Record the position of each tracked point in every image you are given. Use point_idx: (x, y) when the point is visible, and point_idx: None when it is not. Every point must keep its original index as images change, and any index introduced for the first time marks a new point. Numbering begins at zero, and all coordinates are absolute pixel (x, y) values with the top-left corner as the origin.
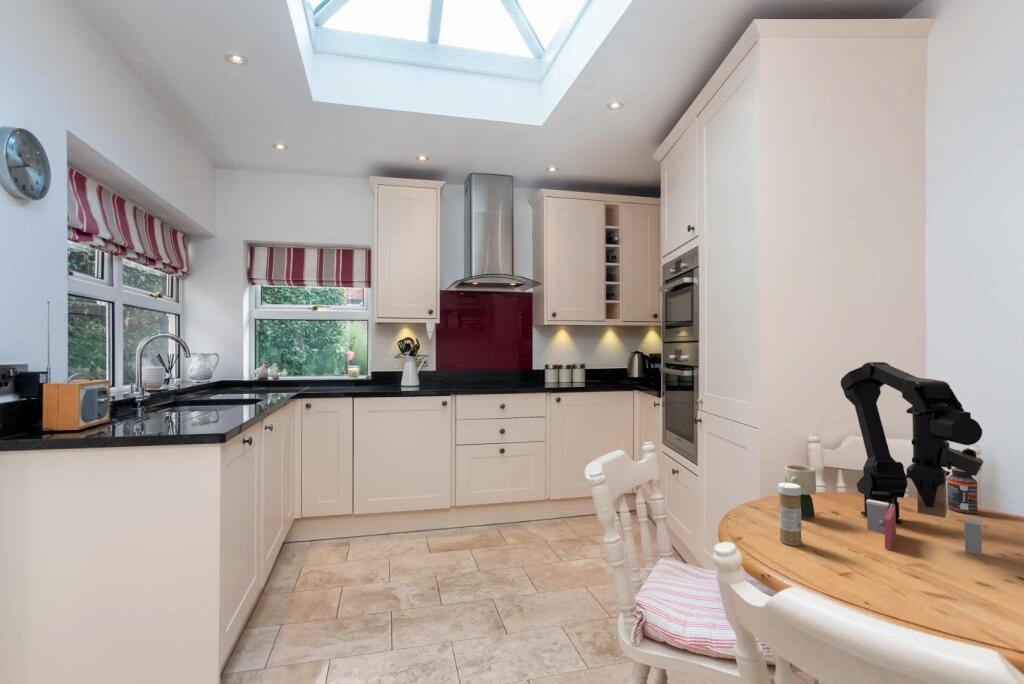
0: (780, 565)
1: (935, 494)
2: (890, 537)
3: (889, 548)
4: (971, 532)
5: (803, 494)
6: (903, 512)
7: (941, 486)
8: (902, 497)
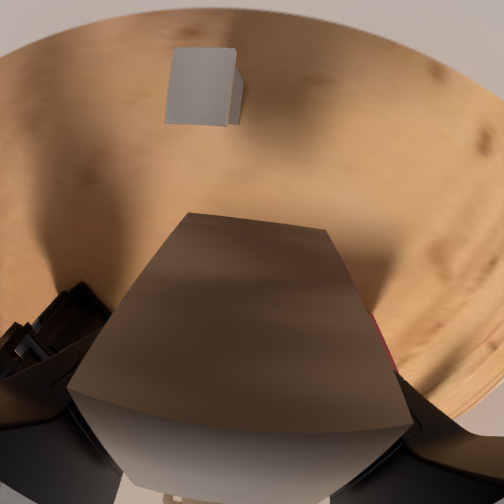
0: (475, 395)
1: (405, 382)
2: (382, 337)
3: (371, 317)
4: (231, 99)
5: None
6: (10, 271)
7: (399, 430)
8: (30, 325)
